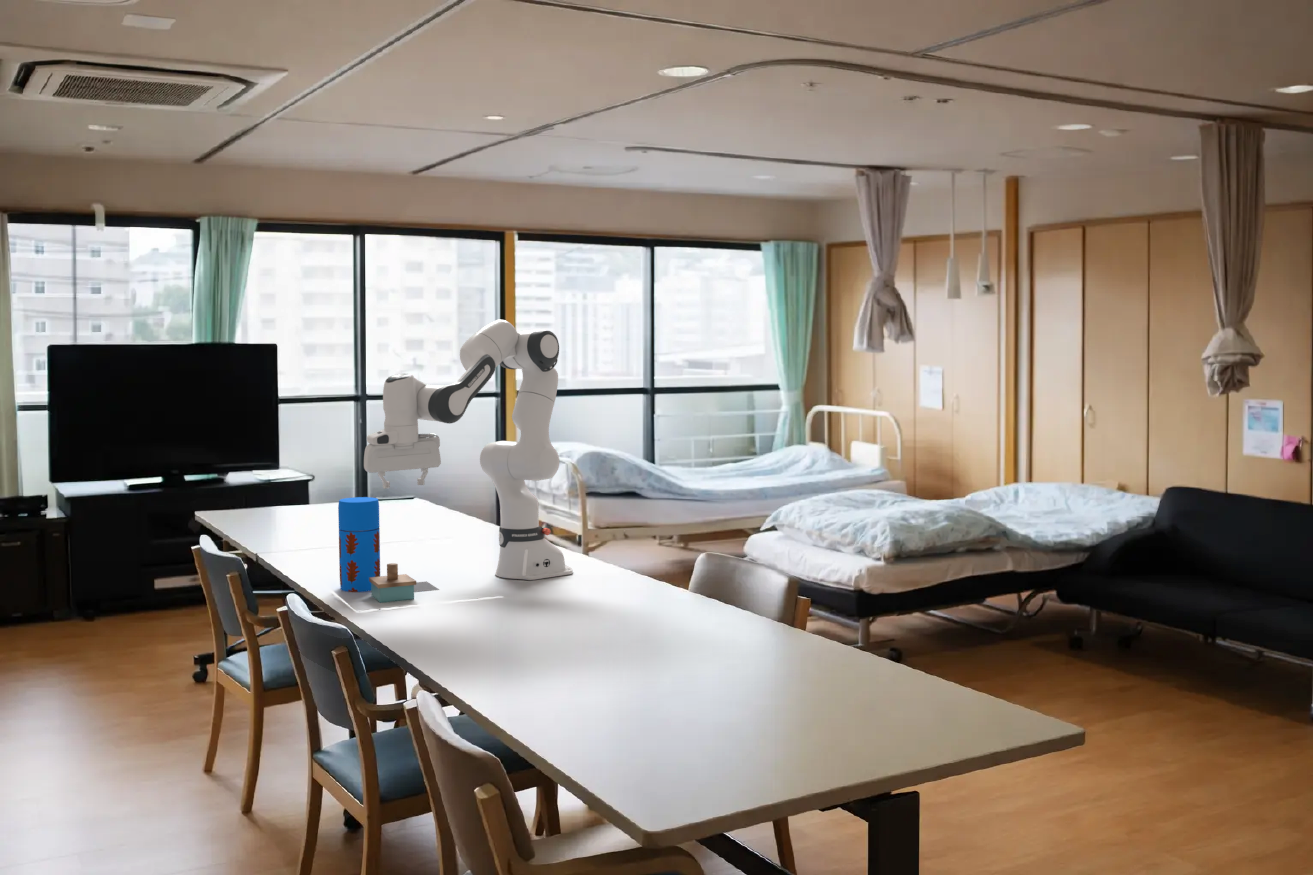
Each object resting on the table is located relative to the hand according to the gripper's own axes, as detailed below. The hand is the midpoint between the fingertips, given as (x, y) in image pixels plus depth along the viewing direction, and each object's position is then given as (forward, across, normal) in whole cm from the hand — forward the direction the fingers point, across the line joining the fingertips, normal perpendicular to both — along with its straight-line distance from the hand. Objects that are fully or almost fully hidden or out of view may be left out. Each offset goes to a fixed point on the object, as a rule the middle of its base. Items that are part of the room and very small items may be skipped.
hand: (403, 486), depth 320 cm
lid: (+25, +5, +5) cm, 26 cm away
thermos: (+30, +10, -11) cm, 33 cm away
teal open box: (+29, +6, +5) cm, 30 cm away
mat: (+30, -2, -5) cm, 30 cm away
